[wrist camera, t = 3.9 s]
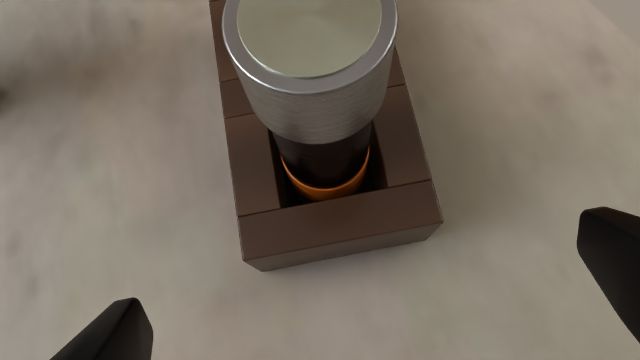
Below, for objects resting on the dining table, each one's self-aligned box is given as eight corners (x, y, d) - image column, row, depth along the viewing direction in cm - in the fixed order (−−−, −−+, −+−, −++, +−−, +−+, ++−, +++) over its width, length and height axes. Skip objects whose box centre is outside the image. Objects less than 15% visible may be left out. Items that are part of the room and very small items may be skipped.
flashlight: (325, 235, 22) (301, 129, 10) (269, 175, 23) (184, 12, 11) (387, 178, 22) (437, 12, 10) (330, 122, 23) (314, -86, 11)
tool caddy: (426, 240, 21) (444, 222, 17) (260, 272, 21) (242, 261, 17) (363, -3, 26) (366, -60, 22) (225, 23, 26) (204, -29, 22)
